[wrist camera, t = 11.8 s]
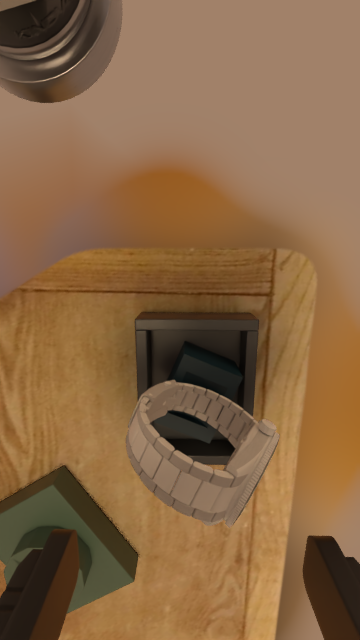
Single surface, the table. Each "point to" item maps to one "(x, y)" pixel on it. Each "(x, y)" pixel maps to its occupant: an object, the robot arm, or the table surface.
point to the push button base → (66, 513)
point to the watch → (200, 438)
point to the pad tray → (211, 334)
